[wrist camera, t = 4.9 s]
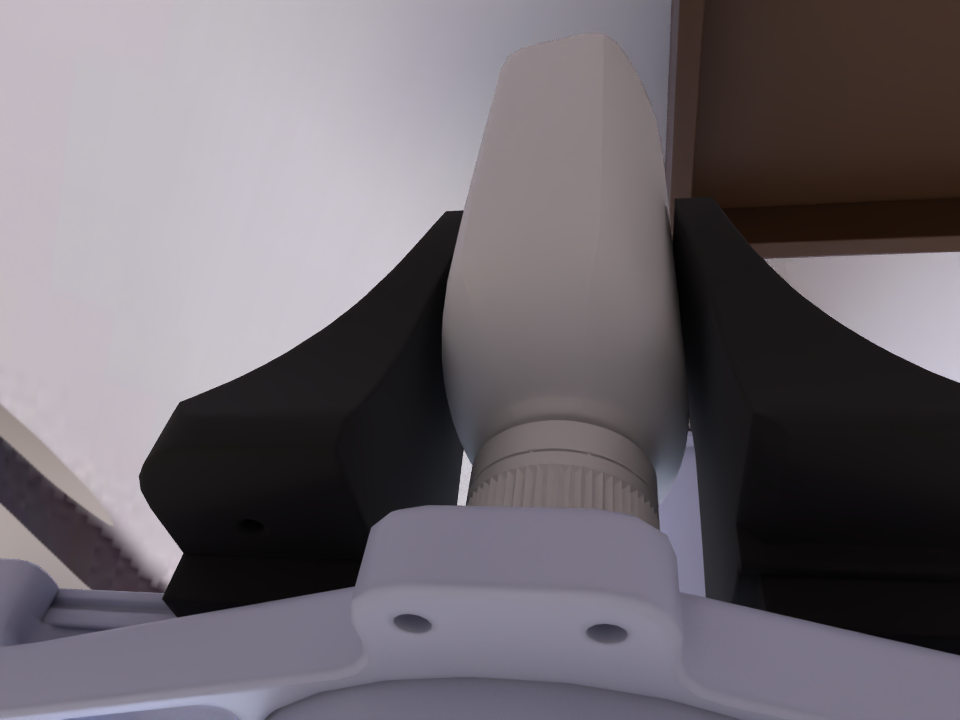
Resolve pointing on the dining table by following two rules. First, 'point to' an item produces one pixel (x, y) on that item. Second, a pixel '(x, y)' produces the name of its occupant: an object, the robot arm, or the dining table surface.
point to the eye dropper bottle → (567, 292)
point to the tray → (819, 122)
